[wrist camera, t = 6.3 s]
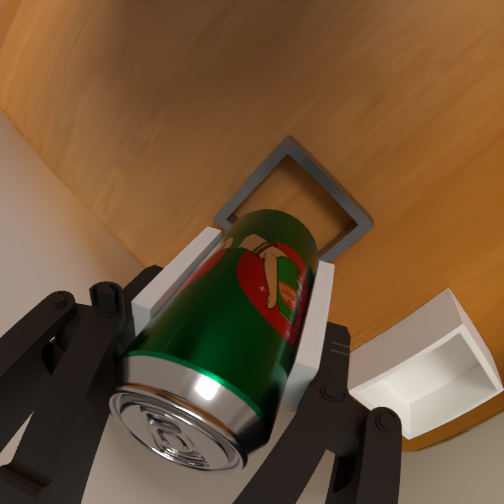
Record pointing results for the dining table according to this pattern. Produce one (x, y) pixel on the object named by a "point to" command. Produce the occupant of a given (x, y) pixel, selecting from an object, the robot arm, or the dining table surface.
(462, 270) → the dining table surface
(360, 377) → the bin
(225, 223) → the socket ring
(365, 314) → the dining table surface
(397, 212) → the dining table surface
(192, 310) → the soda can
